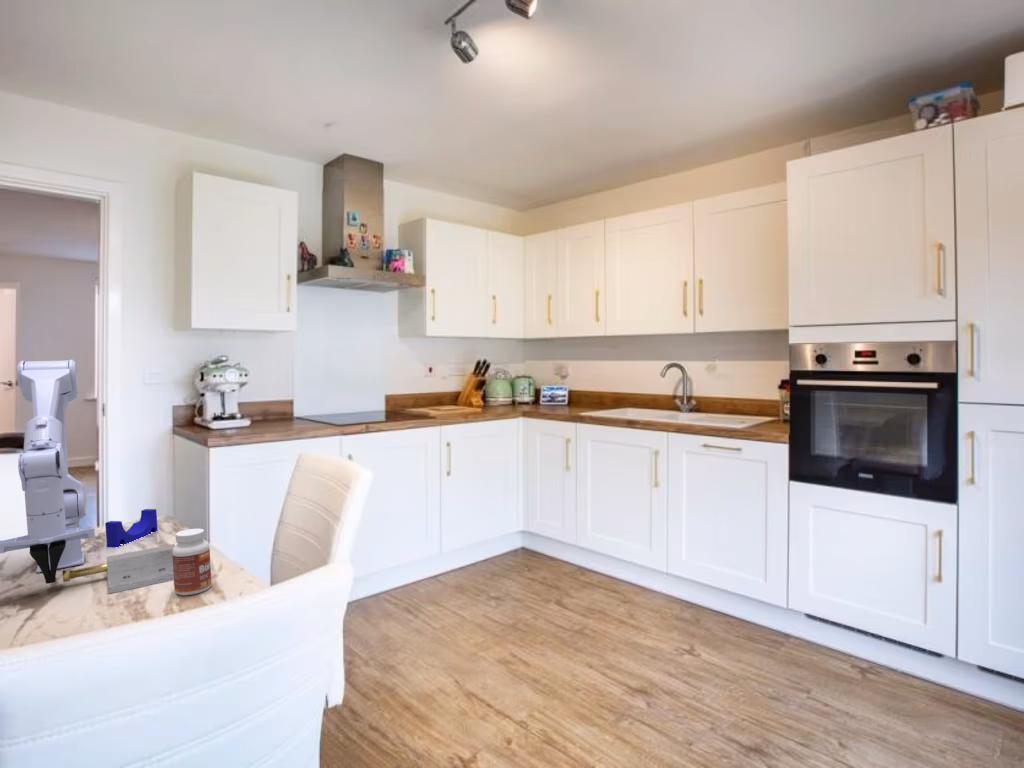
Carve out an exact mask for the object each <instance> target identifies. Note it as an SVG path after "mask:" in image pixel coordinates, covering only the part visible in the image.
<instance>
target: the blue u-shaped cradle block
mask: <svg viewBox="0 0 1024 768" xmlns="http://www.w3.org/2000/svg"><path fill="white" fill-rule="evenodd" d="M140 511H141V512H140V518H139V521H136V522H134V523H132V525H130V527H129V529H128V530H125V529H124V526H123V522H122V521H120V520H110V521H106V522H105V539H106V547H107V548H115V547H118V548H120V547H119V546H121V545H120V544H123V546H125V545H124V544H126V545H128V544H130V543H129V542H131V543H133V542H135V541H134V540H136V539H138V540H140V539H139V538H141V537H143V538H145V537H144V536H146V535H148V534H151V532H156V531H159V529H158V515H157V514H158V513H157V512H158V511H157V509H156V508H144V509H142V510H140ZM156 533H157V532H156ZM151 535H152V534H151ZM148 536H149V535H148ZM146 537H147V536H146ZM141 539H142V538H141ZM132 541H133V542H132ZM136 541H137V540H136ZM127 543H128V544H127ZM121 547H122V546H121Z"/></svg>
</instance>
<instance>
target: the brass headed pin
mask: <svg viewBox="0 0 1024 768" xmlns="http://www.w3.org/2000/svg"><path fill="white" fill-rule="evenodd" d="M105 572H107V563H103V564H97V565H93V566H87V567H82V568H77V569H73V570H72V569H71V570H70V568H66V569H62V582H63V583H67V582H71V579H75V578H80V577H81V578H82V577H86V576H91V575H95V574H96V575H97V574H101V573H105Z"/></svg>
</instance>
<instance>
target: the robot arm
mask: <svg viewBox="0 0 1024 768" xmlns="http://www.w3.org/2000/svg"><path fill="white" fill-rule="evenodd" d="M16 377H17V378H16V379H17V385H18V387H19V388H20V391H21V392H20V393H21V394H22V396H23V397H24V400H25V402H29V403H31V404H32V412H33V413H32V417H33V418H32V419H30V420H28V421H27V422H26V423H25V425H24V426H25V427H24V437H23V438H24V441H23V453H19V455H18V460H17V469H18V475H19V479H20V481H21V489H22V491H23V492H24V501H25V502H24V503H25V516H26V529H27V530H26V531H27V535H22V536H18V537H14V538H13V537H12V538H8V539H3V540H0V555H1V554H5V553H6V552H12V551H18V550H19V551H20V550H24V549H29V554H30V556H31V557H32V559H33V560H34V562H35V563H36V564H37V567H36V571H35V572H36V573H41V572H42V575H43V577H44V581H45V585H50V584H53V583H56V582H57V581H56V580H57V578H56V577H57V570H58V569H63V568H68V567H69V568H71V567H73V566H75V567H76V566H78V565H84V564H85V554H86V553H85V550H82V539H83V540H84V539H94V538H95V537H96V535H95V533H96V532H95V526H94V525H91V526H90V525H89V526H84V527H83V526H82V527H81V526H80V525H81V524H80V520H81V519H83V518H84V517H85V516H86V515H87V499H86V498H87V496H86V492H85V485H84V484H83V482H82V481H80V480H77V479H76V478H74V477H72V476H69V468H68V467H69V465H68V444H67V442H68V441H67V439H68V438H67V422H66V421H67V419H66V411H67V408H68V404H69V402H72V401H73V400H75V399H77V398H78V395H79V378H78V377H79V375H78V365H77V362H76V361H75V360H74V359H69V360H68V359H67V360H38V361H37V360H33V361H32V360H31V361H25V360H20V362H18V363H17V366H16Z"/></svg>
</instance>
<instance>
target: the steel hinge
mask: <svg viewBox="0 0 1024 768" xmlns="http://www.w3.org/2000/svg"><path fill="white" fill-rule="evenodd" d="M175 546H176V544H174V543H173V544H167V545H162V546H156V547H152V548H147V549H141V550H140V549H139V550H136V551H135V550H134V551H130V552H124V553H119V554H115V555H109V556H106V557H105V559H106V564H107V571H106V572H107V586H108V594H114V593H119V592H124V591H127V590H128V591H129V590H133V589H138V588H142V587H146V586H150V585H151V586H152V585H156V584H160V583H165V582H170V581H174V580H173V579H174V573H173V558H172V550H173V548H174V547H175ZM169 580H170V581H169Z"/></svg>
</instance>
